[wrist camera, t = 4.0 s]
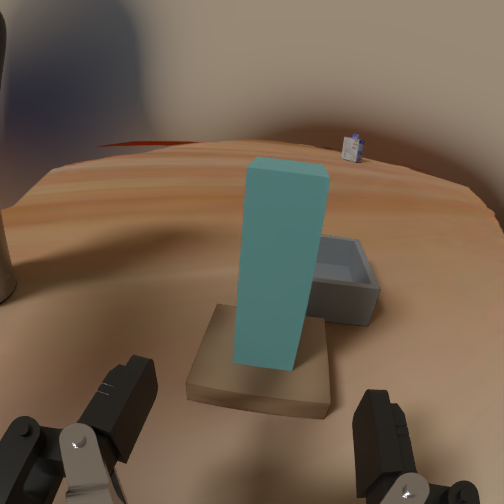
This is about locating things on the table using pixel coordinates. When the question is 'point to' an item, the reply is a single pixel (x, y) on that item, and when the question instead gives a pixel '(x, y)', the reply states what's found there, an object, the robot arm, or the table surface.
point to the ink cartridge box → (352, 149)
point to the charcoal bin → (342, 283)
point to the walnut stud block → (261, 373)
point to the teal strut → (277, 258)
